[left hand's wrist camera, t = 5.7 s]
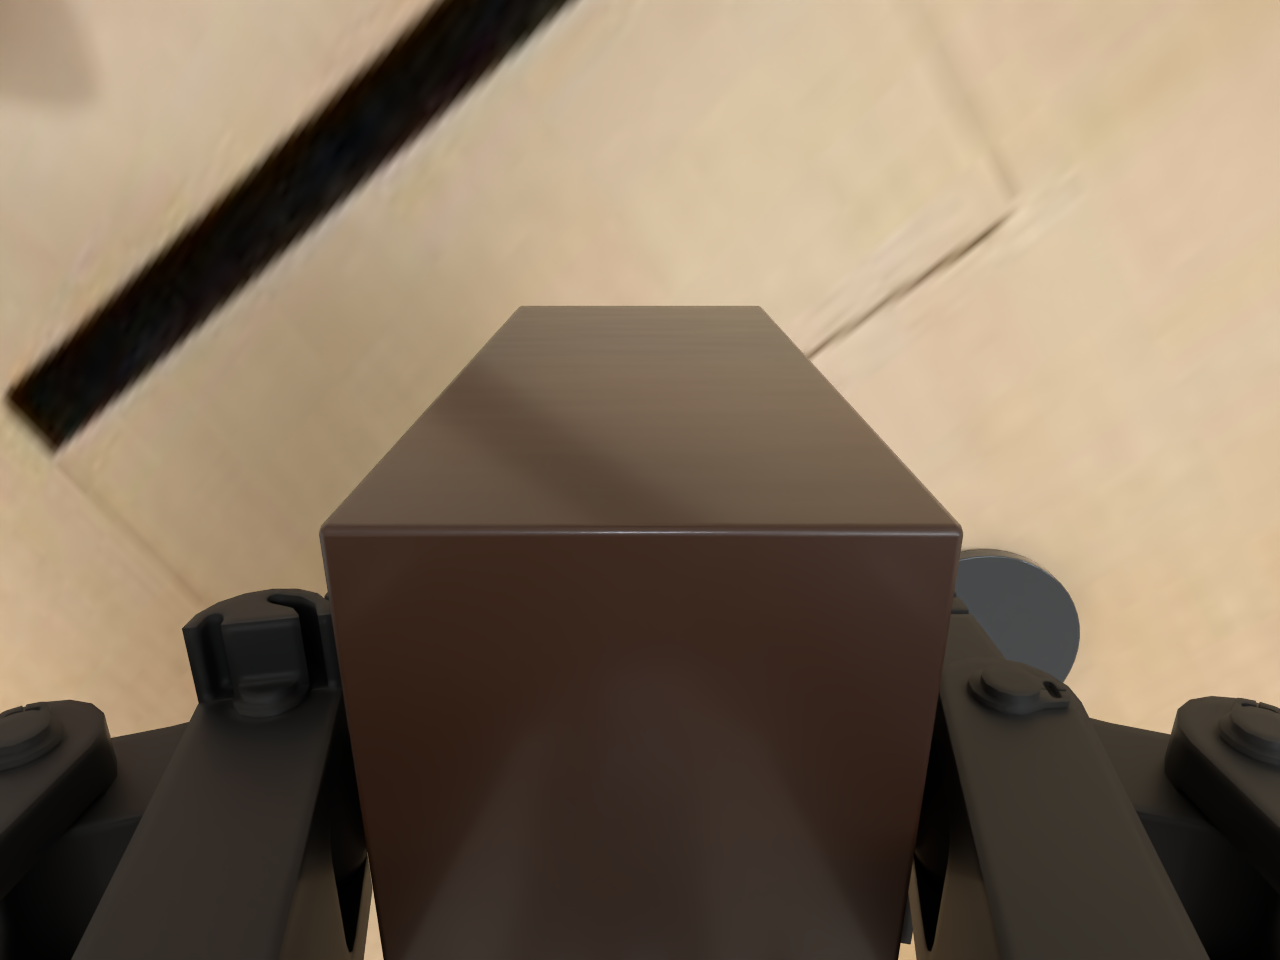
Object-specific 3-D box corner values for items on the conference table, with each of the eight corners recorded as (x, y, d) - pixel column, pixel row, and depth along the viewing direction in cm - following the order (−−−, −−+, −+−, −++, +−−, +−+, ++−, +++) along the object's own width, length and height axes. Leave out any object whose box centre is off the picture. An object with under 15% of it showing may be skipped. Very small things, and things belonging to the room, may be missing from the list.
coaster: (878, 549, 31) (882, 555, 30) (1090, 549, 31) (1099, 555, 30) (858, 725, 33) (862, 734, 33) (1053, 725, 33) (1060, 734, 33)
